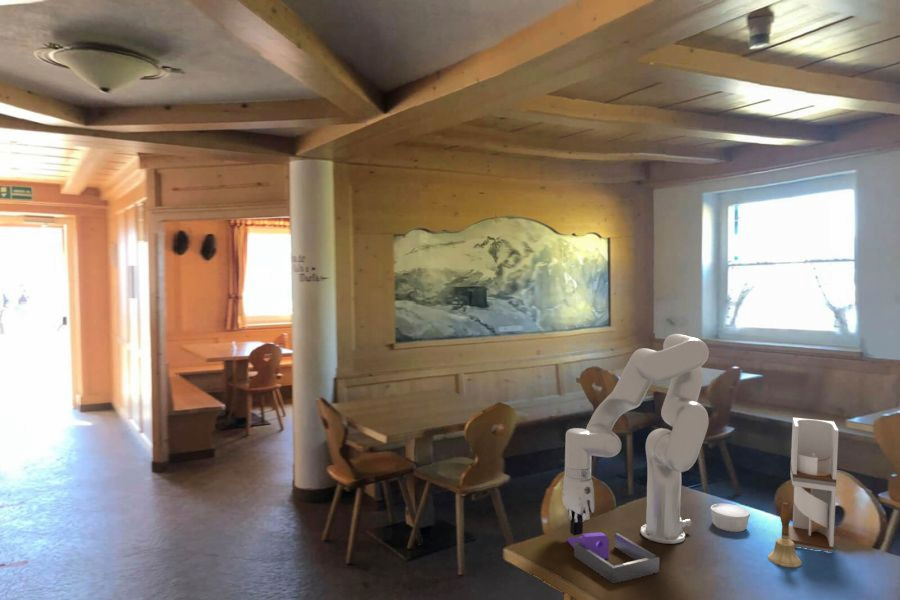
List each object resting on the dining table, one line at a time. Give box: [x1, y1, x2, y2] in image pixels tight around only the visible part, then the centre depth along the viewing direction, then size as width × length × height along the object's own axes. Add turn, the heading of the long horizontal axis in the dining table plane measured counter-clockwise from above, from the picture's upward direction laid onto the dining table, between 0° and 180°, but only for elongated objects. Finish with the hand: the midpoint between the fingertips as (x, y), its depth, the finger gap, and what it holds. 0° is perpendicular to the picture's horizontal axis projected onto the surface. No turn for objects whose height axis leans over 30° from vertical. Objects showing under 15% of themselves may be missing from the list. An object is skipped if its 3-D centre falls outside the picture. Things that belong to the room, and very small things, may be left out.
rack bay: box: [573, 532, 660, 584], centre depth 172 cm, size 15×16×4 cm
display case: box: [788, 417, 840, 553], centre depth 186 cm, size 11×11×35 cm
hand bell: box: [767, 501, 803, 568], centre depth 175 cm, size 8×8×16 cm
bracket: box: [567, 531, 610, 560], centre depth 181 cm, size 12×7×7 cm, turn 12°
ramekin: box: [710, 503, 751, 533], centre depth 199 cm, size 11×11×5 cm
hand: (576, 533), depth 188 cm, fingers closed
